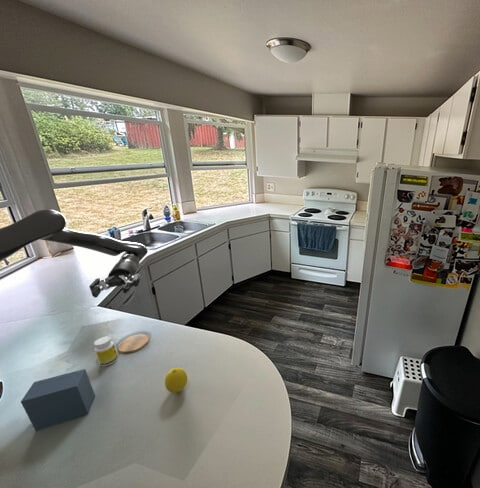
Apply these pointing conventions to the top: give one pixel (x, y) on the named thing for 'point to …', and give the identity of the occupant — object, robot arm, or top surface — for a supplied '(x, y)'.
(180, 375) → the lemon
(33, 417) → the dark gray rectangular block
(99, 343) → the supplement bottle
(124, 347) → the coaster
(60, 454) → the top surface
